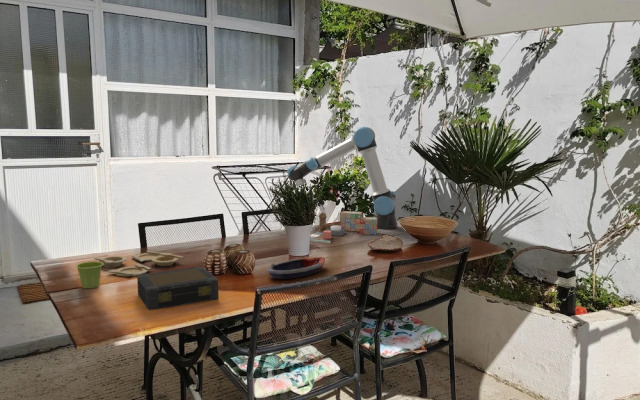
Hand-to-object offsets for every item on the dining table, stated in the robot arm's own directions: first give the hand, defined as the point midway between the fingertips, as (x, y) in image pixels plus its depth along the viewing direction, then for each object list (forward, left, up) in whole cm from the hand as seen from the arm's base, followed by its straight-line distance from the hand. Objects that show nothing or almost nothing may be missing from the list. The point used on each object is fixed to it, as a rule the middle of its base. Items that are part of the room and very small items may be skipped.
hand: (315, 215), depth 295 cm
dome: (-15, +5, -8) cm, 18 cm away
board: (-10, +11, -10) cm, 18 cm away
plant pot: (+39, +130, -10) cm, 136 cm away
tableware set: (+44, +98, -11) cm, 108 cm away
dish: (-27, +80, -11) cm, 85 cm away
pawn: (-5, +2, -9) cm, 10 cm away
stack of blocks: (-23, -11, -10) cm, 28 cm away
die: (-14, +17, -9) cm, 24 cm away
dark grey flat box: (+1, +126, -11) cm, 126 cm away
